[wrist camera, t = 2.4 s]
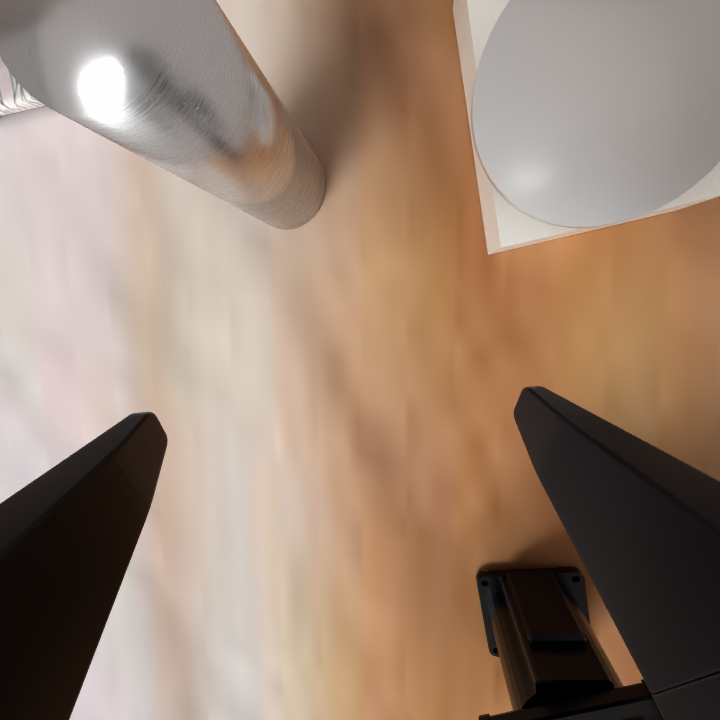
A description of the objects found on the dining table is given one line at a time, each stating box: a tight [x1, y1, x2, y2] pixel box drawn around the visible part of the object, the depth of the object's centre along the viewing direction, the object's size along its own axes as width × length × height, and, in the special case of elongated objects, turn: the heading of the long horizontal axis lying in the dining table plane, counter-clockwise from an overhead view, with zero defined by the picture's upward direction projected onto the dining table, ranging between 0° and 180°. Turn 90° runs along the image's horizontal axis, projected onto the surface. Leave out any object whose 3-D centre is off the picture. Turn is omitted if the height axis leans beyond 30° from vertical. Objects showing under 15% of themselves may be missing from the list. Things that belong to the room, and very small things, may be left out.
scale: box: [453, 0, 720, 255], centre depth 13 cm, size 13×10×5 cm
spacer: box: [0, 0, 325, 229], centre depth 13 cm, size 5×5×12 cm
